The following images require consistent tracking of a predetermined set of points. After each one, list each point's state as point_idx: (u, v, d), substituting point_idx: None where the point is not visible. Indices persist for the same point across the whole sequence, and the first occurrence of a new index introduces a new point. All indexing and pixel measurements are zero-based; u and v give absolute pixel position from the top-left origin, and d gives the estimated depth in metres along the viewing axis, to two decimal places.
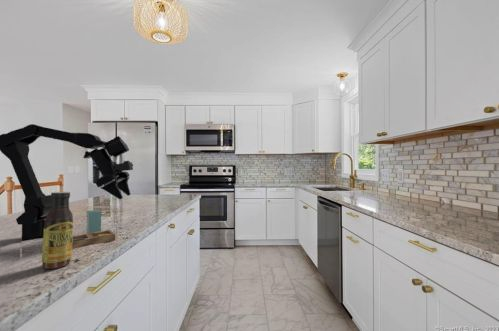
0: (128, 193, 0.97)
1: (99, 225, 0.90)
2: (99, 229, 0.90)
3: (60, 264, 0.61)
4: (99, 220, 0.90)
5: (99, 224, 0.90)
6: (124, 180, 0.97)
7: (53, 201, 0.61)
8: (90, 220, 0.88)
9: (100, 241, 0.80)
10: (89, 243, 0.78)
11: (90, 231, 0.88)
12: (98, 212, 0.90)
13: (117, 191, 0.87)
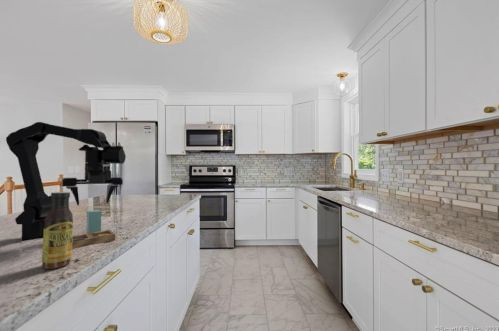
0: (106, 201, 0.91)
1: (99, 225, 0.90)
2: (99, 229, 0.90)
3: (60, 264, 0.61)
4: (99, 220, 0.90)
5: (99, 224, 0.90)
6: (109, 187, 0.90)
7: (53, 201, 0.61)
8: (90, 220, 0.88)
9: (100, 241, 0.80)
10: (89, 243, 0.78)
11: (90, 231, 0.88)
12: (98, 212, 0.90)
13: (75, 197, 0.83)
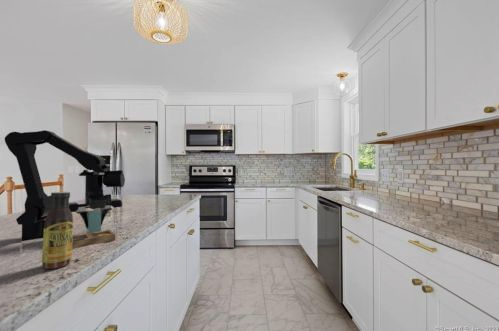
0: None
1: (99, 225, 0.90)
2: (99, 229, 0.90)
3: (60, 264, 0.61)
4: (99, 220, 0.90)
5: (99, 224, 0.90)
6: (102, 210, 0.91)
7: (53, 201, 0.61)
8: (90, 220, 0.88)
9: (100, 241, 0.80)
10: (89, 243, 0.78)
11: (90, 231, 0.88)
12: (98, 212, 0.90)
13: (84, 221, 0.88)
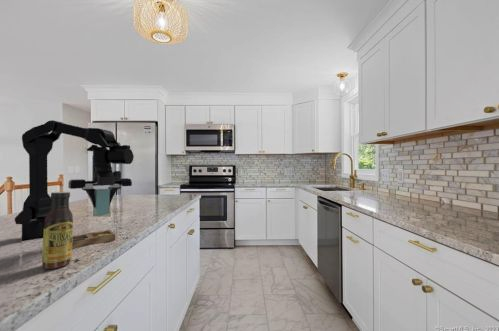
0: None
1: (107, 204, 0.83)
2: (107, 209, 0.83)
3: (60, 264, 0.61)
4: (107, 199, 0.83)
5: (107, 203, 0.83)
6: (111, 189, 0.85)
7: (53, 201, 0.61)
8: (98, 198, 0.81)
9: (100, 241, 0.80)
10: (89, 243, 0.78)
11: (98, 210, 0.81)
12: (106, 190, 0.83)
13: (92, 199, 0.81)
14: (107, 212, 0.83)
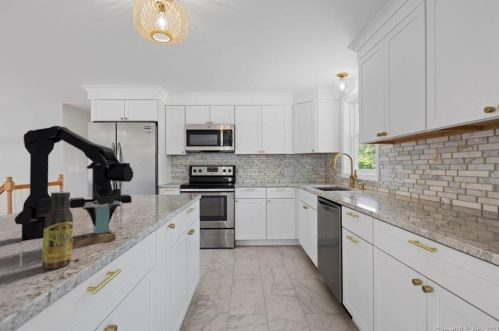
0: None
1: (107, 222, 0.83)
2: (107, 226, 0.83)
3: (60, 264, 0.61)
4: (107, 217, 0.83)
5: (107, 221, 0.83)
6: (110, 206, 0.85)
7: (53, 201, 0.61)
8: (98, 217, 0.81)
9: (100, 241, 0.80)
10: (89, 243, 0.78)
11: (98, 228, 0.81)
12: (106, 208, 0.83)
13: (91, 217, 0.81)
14: (107, 230, 0.83)
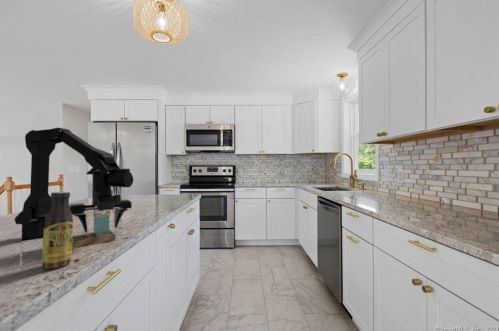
0: (115, 226, 0.87)
1: (107, 231, 0.83)
2: None
3: (60, 264, 0.61)
4: (107, 226, 0.83)
5: (107, 230, 0.83)
6: (118, 211, 0.86)
7: (53, 201, 0.61)
8: (98, 226, 0.81)
9: (100, 241, 0.80)
10: (89, 243, 0.78)
11: None
12: (106, 217, 0.83)
13: (83, 224, 0.79)
14: None
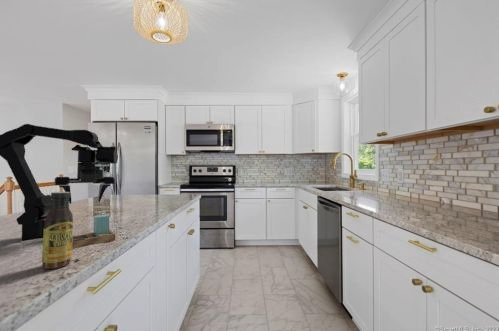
0: (98, 199, 0.93)
1: (107, 231, 0.83)
2: None
3: (60, 264, 0.61)
4: (107, 226, 0.83)
5: (107, 230, 0.83)
6: (101, 186, 0.93)
7: (53, 201, 0.61)
8: (98, 226, 0.81)
9: (100, 241, 0.80)
10: (89, 243, 0.78)
11: None
12: (106, 217, 0.83)
13: None
14: None
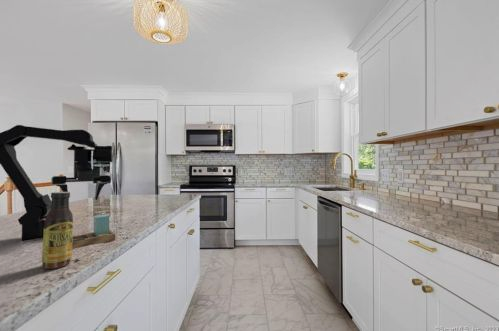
0: (95, 198, 0.95)
1: (107, 231, 0.83)
2: None
3: (60, 264, 0.61)
4: (107, 226, 0.83)
5: (107, 230, 0.83)
6: (98, 184, 0.95)
7: (53, 201, 0.61)
8: (98, 226, 0.81)
9: (100, 241, 0.80)
10: (89, 243, 0.78)
11: None
12: (106, 217, 0.83)
13: None
14: None
